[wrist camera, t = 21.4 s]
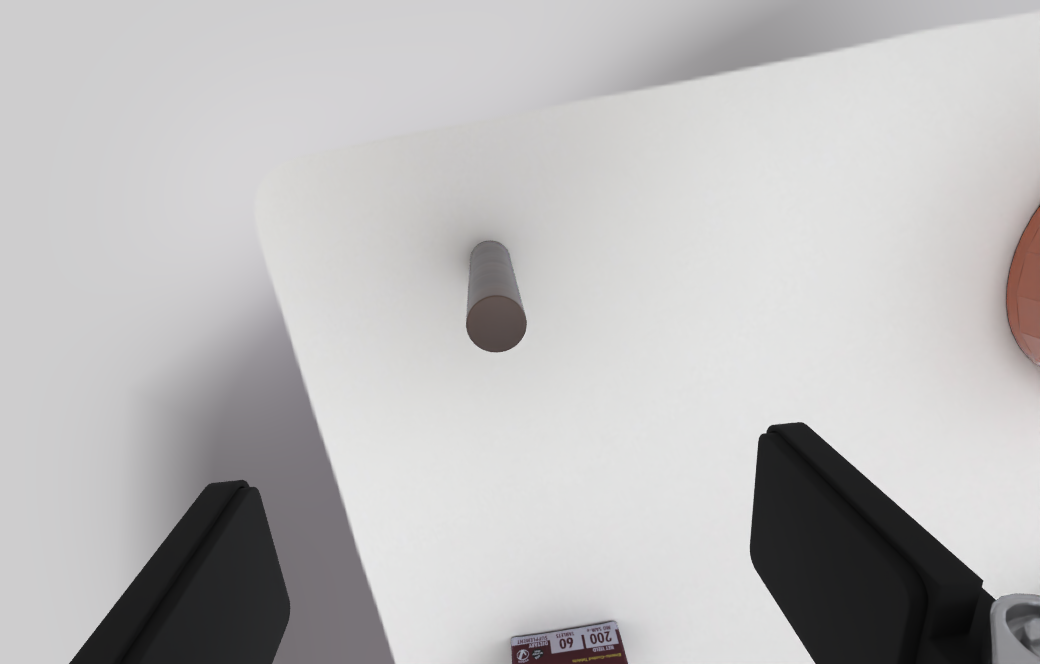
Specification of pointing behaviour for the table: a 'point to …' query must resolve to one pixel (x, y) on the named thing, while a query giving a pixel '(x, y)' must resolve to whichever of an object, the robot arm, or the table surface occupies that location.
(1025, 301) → the bowl
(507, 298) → the stick
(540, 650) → the supplement box
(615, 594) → the table surface
